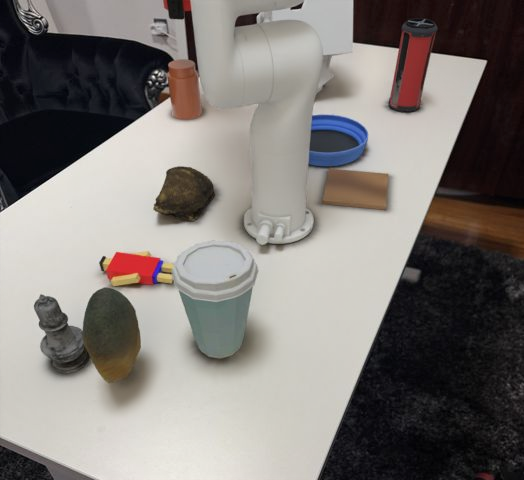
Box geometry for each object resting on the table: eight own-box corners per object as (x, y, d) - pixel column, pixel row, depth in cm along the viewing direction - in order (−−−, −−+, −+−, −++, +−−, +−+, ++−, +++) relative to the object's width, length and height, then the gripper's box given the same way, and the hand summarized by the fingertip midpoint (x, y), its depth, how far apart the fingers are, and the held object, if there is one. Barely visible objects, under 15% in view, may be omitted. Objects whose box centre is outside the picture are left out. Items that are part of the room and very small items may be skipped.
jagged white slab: (271, 104, 117) (263, -26, 105) (257, 102, 131) (249, -14, 118) (352, 97, 120) (353, -31, 108) (330, 95, 134) (329, -18, 122)
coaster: (385, 210, 92) (386, 206, 92) (321, 203, 94) (322, 200, 93) (387, 177, 100) (388, 173, 99) (328, 171, 102) (328, 168, 101)
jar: (197, 120, 118) (192, 70, 110) (168, 118, 119) (161, 68, 111) (205, 108, 123) (200, 59, 114) (177, 105, 124) (171, 57, 115)
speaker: (413, 115, 119) (431, 29, 105) (383, 108, 121) (397, 24, 108) (424, 103, 123) (443, 20, 109) (395, 97, 126) (410, 14, 112)
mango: (117, 349, 70) (88, 266, 58) (159, 354, 69) (137, 271, 58) (90, 405, 63) (52, 323, 52) (135, 411, 63) (107, 330, 51)
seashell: (181, 177, 100) (184, 145, 94) (221, 194, 99) (227, 163, 94) (141, 220, 90) (142, 187, 84) (186, 239, 89) (190, 207, 84)
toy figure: (179, 255, 81) (108, 245, 81) (167, 282, 76) (92, 271, 77) (180, 266, 83) (111, 257, 83) (169, 294, 78) (96, 283, 79)
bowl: (328, 122, 117) (329, 107, 114) (383, 151, 107) (386, 135, 104) (266, 144, 110) (266, 128, 107) (319, 178, 100) (321, 161, 97)
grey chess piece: (88, 373, 67) (60, 309, 58) (44, 376, 67) (9, 312, 58) (95, 341, 71) (69, 277, 62) (53, 344, 71) (22, 279, 62)
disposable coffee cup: (171, 335, 71) (153, 251, 60) (233, 305, 75) (227, 221, 64) (208, 382, 66) (196, 299, 54) (274, 347, 70) (275, 263, 58)
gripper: (175, -93, 84) (188, 26, 97) (202, -107, 95) (210, 2, 109) (133, -94, 85) (152, 25, 98) (165, -107, 96) (178, 1, 110)
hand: (182, 12), depth 103 cm, fingers closed on lid, 7 cm apart
